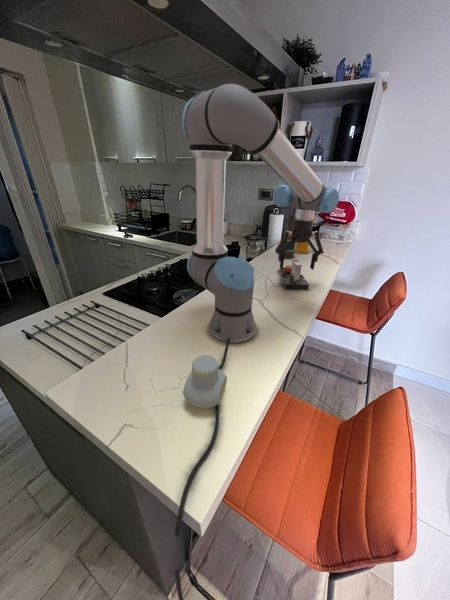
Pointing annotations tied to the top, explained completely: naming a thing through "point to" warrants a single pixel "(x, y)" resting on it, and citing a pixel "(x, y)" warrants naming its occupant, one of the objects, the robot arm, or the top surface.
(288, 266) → the button
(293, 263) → the white upright panel
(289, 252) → the beer bottle
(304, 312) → the top surface
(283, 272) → the button block
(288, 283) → the control panel
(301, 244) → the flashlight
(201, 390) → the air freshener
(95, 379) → the top surface
